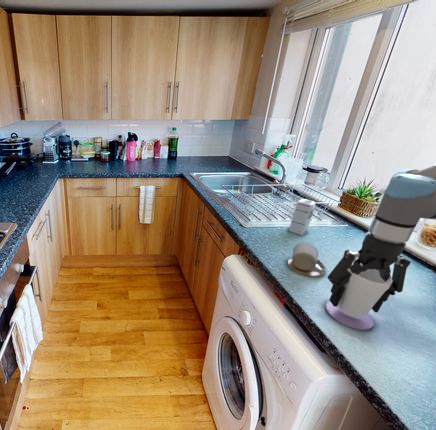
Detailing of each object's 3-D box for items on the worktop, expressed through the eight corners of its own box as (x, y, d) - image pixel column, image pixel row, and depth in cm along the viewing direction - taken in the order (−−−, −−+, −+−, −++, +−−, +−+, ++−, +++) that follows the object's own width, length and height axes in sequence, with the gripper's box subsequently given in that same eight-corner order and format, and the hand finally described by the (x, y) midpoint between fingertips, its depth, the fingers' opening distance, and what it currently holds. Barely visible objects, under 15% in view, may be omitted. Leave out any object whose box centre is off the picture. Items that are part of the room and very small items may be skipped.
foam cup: (327, 309, 81) (343, 272, 76) (334, 294, 87) (350, 258, 82) (369, 328, 75) (391, 289, 70) (374, 311, 81) (394, 273, 75)
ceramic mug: (289, 267, 102) (295, 249, 98) (290, 257, 108) (296, 239, 104) (324, 278, 97) (332, 259, 93) (323, 266, 103) (331, 248, 100)
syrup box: (302, 235, 124) (312, 205, 118) (287, 230, 128) (297, 200, 122) (306, 231, 128) (317, 201, 122) (292, 227, 132) (301, 197, 126)
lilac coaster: (359, 304, 86) (359, 303, 86) (382, 333, 76) (383, 331, 76) (318, 299, 88) (319, 298, 87) (336, 326, 78) (337, 325, 78)
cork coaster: (314, 260, 107) (315, 259, 107) (329, 278, 97) (329, 277, 97) (283, 257, 109) (283, 256, 108) (293, 274, 99) (294, 273, 99)
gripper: (426, 234, 72) (388, 302, 82) (330, 225, 76) (304, 291, 86) (451, 249, 66) (407, 322, 75) (345, 238, 69) (315, 309, 79)
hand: (352, 306), depth 80 cm, fingers closed on foam cup, 9 cm apart
